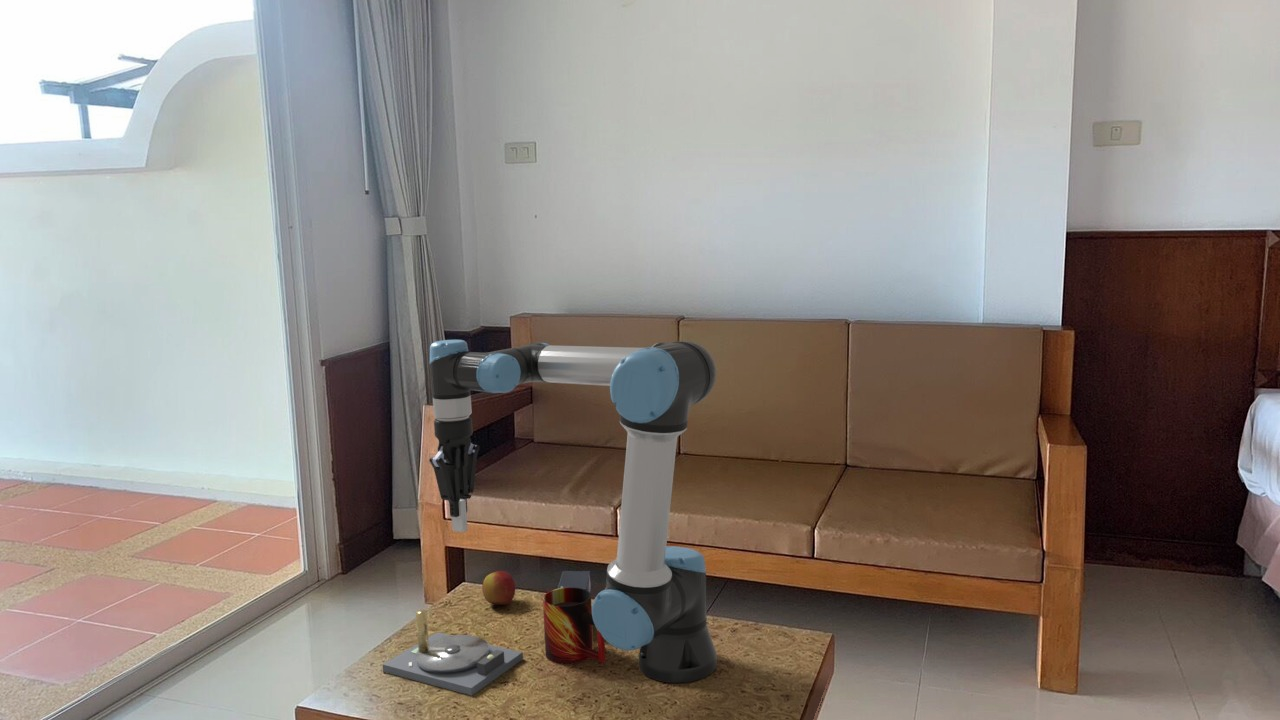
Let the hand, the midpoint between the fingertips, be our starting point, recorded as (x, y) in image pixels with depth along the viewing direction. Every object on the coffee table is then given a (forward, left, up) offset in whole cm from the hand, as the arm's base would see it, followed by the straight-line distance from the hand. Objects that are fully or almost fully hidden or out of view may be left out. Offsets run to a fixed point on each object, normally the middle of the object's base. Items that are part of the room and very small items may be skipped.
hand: (459, 530), depth 189 cm
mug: (-24, -6, -25) cm, 35 cm away
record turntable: (-4, +9, -24) cm, 26 cm away
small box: (-16, -17, -25) cm, 34 cm away
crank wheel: (-4, +9, -22) cm, 24 cm away
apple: (+6, -19, -25) cm, 32 cm away
